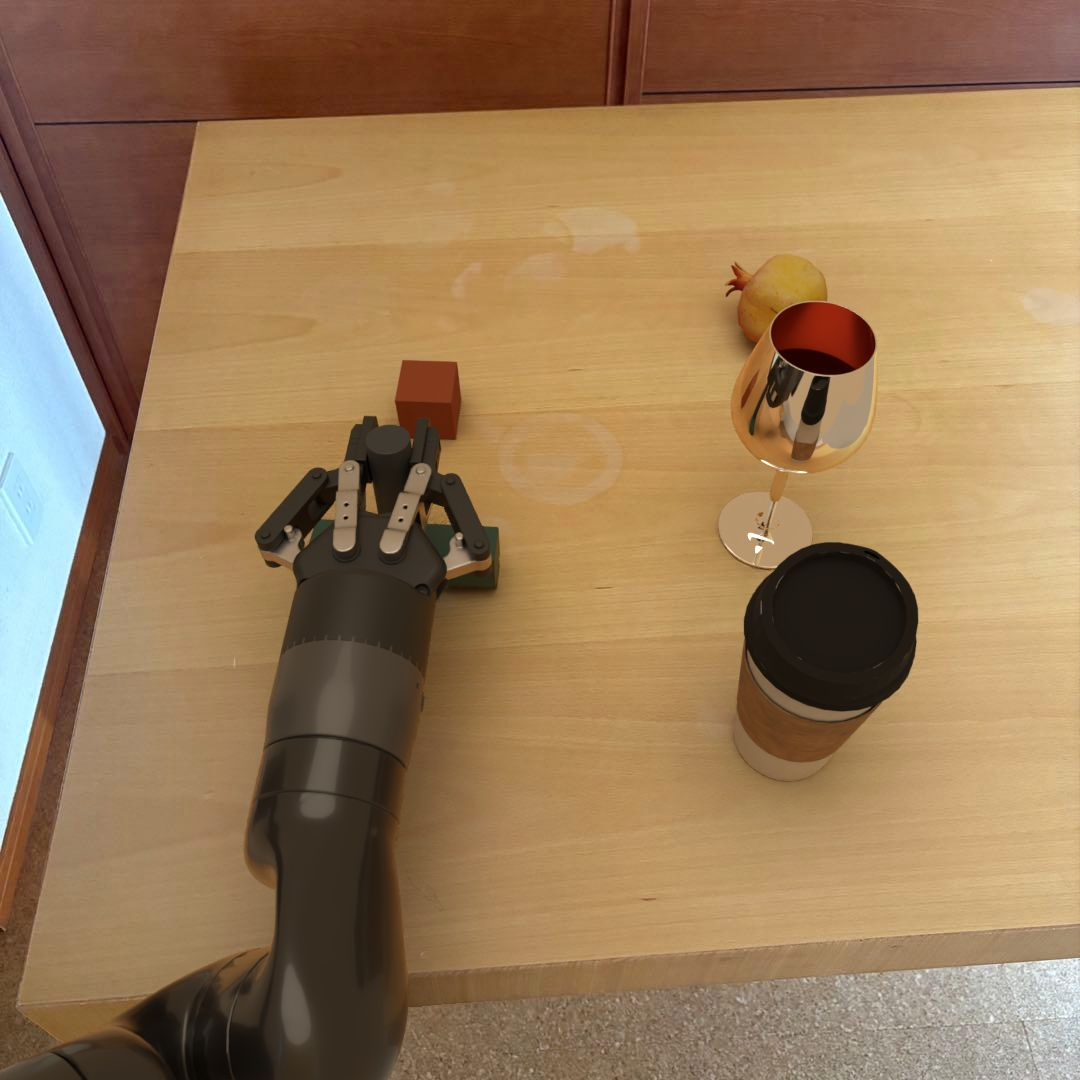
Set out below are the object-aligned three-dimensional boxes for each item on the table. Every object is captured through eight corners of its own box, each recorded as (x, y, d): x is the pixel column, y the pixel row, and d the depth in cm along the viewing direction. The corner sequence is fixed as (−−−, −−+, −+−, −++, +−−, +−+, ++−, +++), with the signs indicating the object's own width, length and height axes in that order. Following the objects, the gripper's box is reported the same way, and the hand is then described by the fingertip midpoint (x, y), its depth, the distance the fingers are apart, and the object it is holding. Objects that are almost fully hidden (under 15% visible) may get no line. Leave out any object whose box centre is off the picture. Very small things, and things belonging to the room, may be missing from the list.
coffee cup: (876, 716, 61) (958, 586, 49) (815, 831, 57) (887, 721, 45) (752, 648, 64) (799, 508, 51) (685, 752, 60) (720, 628, 48)
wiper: (314, 586, 66) (279, 452, 58) (324, 552, 68) (291, 417, 60) (496, 595, 66) (488, 460, 57) (500, 560, 68) (493, 425, 59)
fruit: (877, 275, 75) (762, 219, 78) (837, 307, 71) (717, 246, 74) (842, 351, 80) (736, 296, 83) (804, 386, 75) (692, 325, 79)
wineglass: (691, 492, 71) (727, 296, 56) (802, 474, 72) (867, 276, 57) (724, 589, 66) (773, 404, 51) (843, 569, 67) (925, 381, 52)
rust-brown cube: (401, 437, 74) (394, 400, 71) (408, 397, 76) (402, 359, 73) (455, 439, 74) (451, 402, 71) (461, 399, 76) (457, 361, 73)
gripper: (481, 652, 48) (510, 387, 58) (195, 638, 49) (271, 378, 59) (490, 718, 55) (514, 468, 64) (236, 705, 55) (298, 459, 65)
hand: (398, 426), depth 61 cm, fingers closed on wiper, 2 cm apart
